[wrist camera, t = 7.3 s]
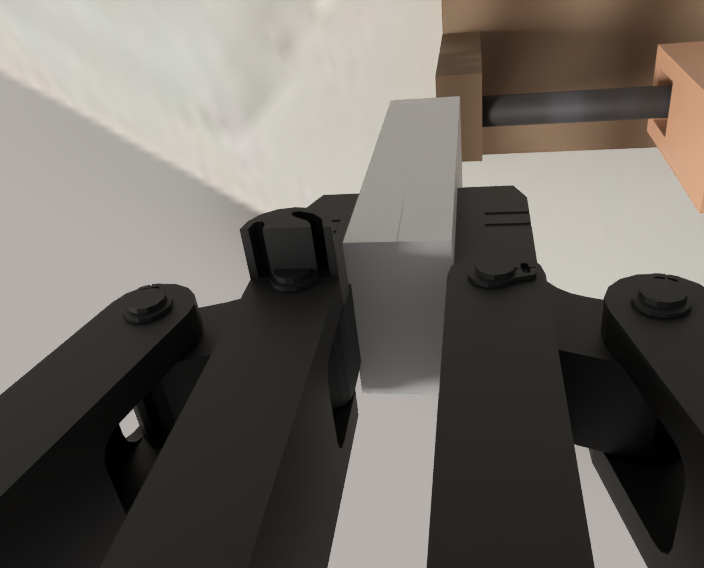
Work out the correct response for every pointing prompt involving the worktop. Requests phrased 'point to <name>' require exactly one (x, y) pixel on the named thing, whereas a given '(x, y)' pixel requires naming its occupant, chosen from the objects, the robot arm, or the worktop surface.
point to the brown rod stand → (558, 71)
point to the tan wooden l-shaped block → (682, 115)
